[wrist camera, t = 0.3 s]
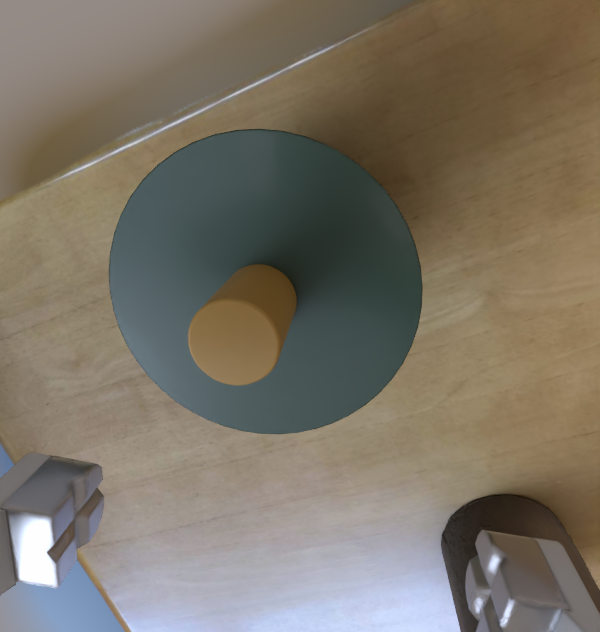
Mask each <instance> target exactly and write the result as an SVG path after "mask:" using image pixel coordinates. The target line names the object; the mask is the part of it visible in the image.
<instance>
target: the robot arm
mask: <svg viewBox="0 0 600 632" xmlns="http://www.w3.org/2000/svg"><path fill="white" fill-rule="evenodd" d="M102 480H103V475H102V467H101V466H99V465H98V464H94V463H89V462H84V461H79V460H74V459H69V458H64V457H59V456H51V455H46V454H41V453H36V452H32V453H29V454H26V455H25V456H24V457H23V458H22V459H21V460H20V461H18V462H17V463H16V464H15V465H14V466H13V467H12V468H11V469H10V470H9V471H8V472H7V473H6V474H4V475H3V477H1V478H0V595H1V594H2V593H4V592H6V591H7V590H9V589H10V588H11V587H13V586H14V585H16V582H21V583H27V584H33V585H40V586H46V587H53V588H58V587H59V586H60V585H61V583H62V582H63V580H64V579H65V577H66V575H67V574H68V573H69V571H70V570H71V568H72V567H73V565H74V564H75V562H76V561H77V549H78V548H79V547H81V546H83V545H85V544H86V543H88V542H89V541H90V540H91V538H92V537H93V535H94V534H95V532H96V530H97V528H98V525H99V523H100V520H101V518H102V514H103V508H104V496H103V495H102V493H101V492H100V491H99V489H98V488H97V487H98V485H99V484H100V483H101V481H102ZM475 545H476V549H477V552H478V555H477V556H475V557H474V558H472V559H471V560H470V561H469V564H468V568H467V571H466V582H465V589H466V598H467V603H468V607H469V611H470V612H471V613H472V614H473V616H474V617H475V618H476V619H477V620H478V621H479V623H478V626H477V629H476V632H600V613H599V612H598V610H597V608H596V606H595V604H594V602H593V601H592V599H591V597H590V595H589V593H588V591H587V589H586V588H585V586H584V584H583V582H582V580H581V578H580V576H579V575H578V573H577V571H576V569H575V567H574V565H573V564H572V562H571V560H570V558H569V556H568V554H567V552H566V551H565V549H564V547H563V546H562V545H561V544H560V543H559V542H558V541H551V540H545V539H538V538H529V537H524V536H517V535H511V534H505V533H499V532H493V531H487V530H482V531H481V532H480V533H479V534H478V537H477V540H476V543H475Z"/></svg>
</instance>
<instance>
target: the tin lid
mask: <svg viewBox="0 0 600 632" xmlns="http://www.w3.org/2000/svg"><path fill="white" fill-rule="evenodd" d="M109 282H110V293H111V299H112V304H113V309H114V313H115V316H116V319H117V322H118V325H119V328H120V330H121V333H122V335H123V337H124V339H125V341H126V344H127V346H128V347H129V349H130V351H131V352H132V354H133V355H134V357H135V359H136V360H137V362H138V363H139V364H140V366H141V367H142V368H143V370H144V371H145V372H146V373H147V375H148V376H149V377H150V378H151V379H152V380H153V381H154V382H155V383H156V384H157V385H158V386H159V387H160V388H161V389H162V390H163V391H164V392H165V393H166V394H168V395H169V396H170V397H171V398H173V399H174V400H175V401H176V402H178V403H179V404H181V405H182V406H184V407H185V408H187V409H188V410H190V411H192V412H193V413H195V414H197V415H199V416H201V417H203V418H205V419H207V420H209V421H212V422H215V423H217V424H220V425H223V426H225V427H229V428H233V429H237V430H241V431H246V432H254V433H261V434H287V433H298V432H303V431H308V430H312V429H317V428H320V427H323V426H326V425H329V424H332V423H334V422H336V421H338V420H340V419H342V418H344V417H347V416H349V415H350V414H352V413H354V412H355V411H357V410H358V409H360V408H361V407H363V406H364V405H366V404H367V403H368V402H369V401H370V400H372V399H373V398H374V397H375V396H376V395H378V394H379V393H380V392H381V391H382V389H383V388H384V387H385V386H386V385H387V384H388V383H389V382H390V381H391V380H392V378H393V377H394V375H395V374H396V372H397V371H398V370H399V368H400V367H401V365H402V364H403V362H404V360H405V358H406V356H407V354H408V352H409V350H410V348H411V346H412V343H413V340H414V337H415V334H416V331H417V328H418V324H419V318H420V313H421V308H422V288H423V287H422V276H421V266H420V262H419V257H418V253H417V249H416V245H415V242H414V240H413V237H412V235H411V232H410V230H409V227H408V225H407V223H406V221H405V219H404V217H403V216H402V214H401V212H400V210H399V208H398V207H397V205H396V204H395V202H394V201H393V200H392V198H391V197H390V196H389V194H388V193H387V192H386V190H385V189H384V188H383V186H382V185H381V184H380V183H379V182H378V181H377V180H376V179H375V178H374V177H373V176H372V175H371V174H370V173H369V172H368V171H367V170H365V169H364V168H363V167H362V166H360V165H359V164H358V163H356V162H355V161H354V160H352V159H351V158H350V157H348V156H347V155H345V154H343V153H341V152H340V151H338V150H336V149H334V148H332V147H331V146H329V145H327V144H324V143H321V142H319V141H316V140H314V139H311V138H309V137H306V136H302V135H297V134H293V133H289V132H285V131H277V130H266V129H248V130H235V131H230V132H225V133H220V134H215V135H212V136H209V137H206V138H203V139H201V140H198V141H195V142H193V143H191V144H189V145H187V146H185V147H183V148H182V149H180V150H178V151H176V152H174V153H173V154H172V155H170V156H169V157H168V158H166V159H165V160H164V161H162V162H161V163H160V164H158V165H157V166H156V167H155V168H154V169H153V170H152V171H151V172H150V173H149V174H148V175H147V176H146V177H145V178H144V179H143V180H142V182H141V183H140V184H139V186H138V187H137V188H136V190H135V191H134V192H133V194H132V195H131V197H130V199H129V200H128V202H127V204H126V206H125V208H124V210H123V212H122V214H121V216H120V219H119V222H118V224H117V227H116V230H115V233H114V237H113V242H112V247H111V251H110V264H109Z"/></svg>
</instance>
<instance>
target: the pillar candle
mask: <svg viewBox="0 0 600 632" xmlns="http://www.w3.org/2000/svg"><path fill="white" fill-rule="evenodd" d="M482 530H487V531H493V532H499V533H505V534H511V535H517V536H524V537H529V538H538V539H545V540H551V541H558V542H559V543H560V544H561V545H562V546H563V547H564V549H565V551H566V552H567V554H568V556H569V558H570V560H571V562H572V564H573V565H574V567H575V569H576V571H577V573H578V575H579V576H580V578H581V580H582V582H583V584H584V586H585V588H586V589H587V591H588V593H589V595H590V597H591V599H592V601H593V602H594V604H595V606H596V608H597V610H598V612H599V613H600V590H599V588H598V586H597V585H596V583H595V581H594V579H593V578H592V576H591V574H590V572H589V570H588V568H587V566H586V564H585V562H584V560H583V558H582V557H581V555H580V554H579V552H578V550H577V548H576V546H575V545H574V543H573V541H572V539H571V538H570V536H569V535H568V534H567V532H566V530H565V528H564V527H563V525H562V524H561V522H560V521H559V520H558V518H557V517H556V516H555V515H554V514H553V513H552V512H551V511H550V510H549V509H548V508H546V507H544V506H543V505H541V504H539V503H536V502H534V501H531V500H529V499H525V498H521V497H518V496H517V497H516V496H510V495H504V496H501V495H498V496H492V497H486V498H484V499H480V500H477V501H474V502H472V503H470V504H468V505H467V506H465V507H464V508H462V509H461V510H460V511H458V512H456V513H455V514H454V515H453V516H452V517H451V518H450V519H449V521H448V524H447V525H446V528H445V530H444V532H443V534H442V541H441V547H442V553H443V557H444V561H445V565H446V570H447V574H448V579H449V583H450V588H451V591H452V596H453V600H454V604H455V609H456V613H457V617H458V621H459V626H460V630H461V632H476V629H477V626H478V623H479V621H478V620H477V619H476V618H475V617H474V616H473V614H472V613H471V612H470V611H469V607H468V603H467V598H466V589H465V582H466V571H467V568H468V564H469V561H470V560H471V559H472V558H474V557H475V556H477V555H478V552H477V549H476V545H475V543H476V540H477V537H478V534H479V533H480V532H481V531H482Z"/></svg>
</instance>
